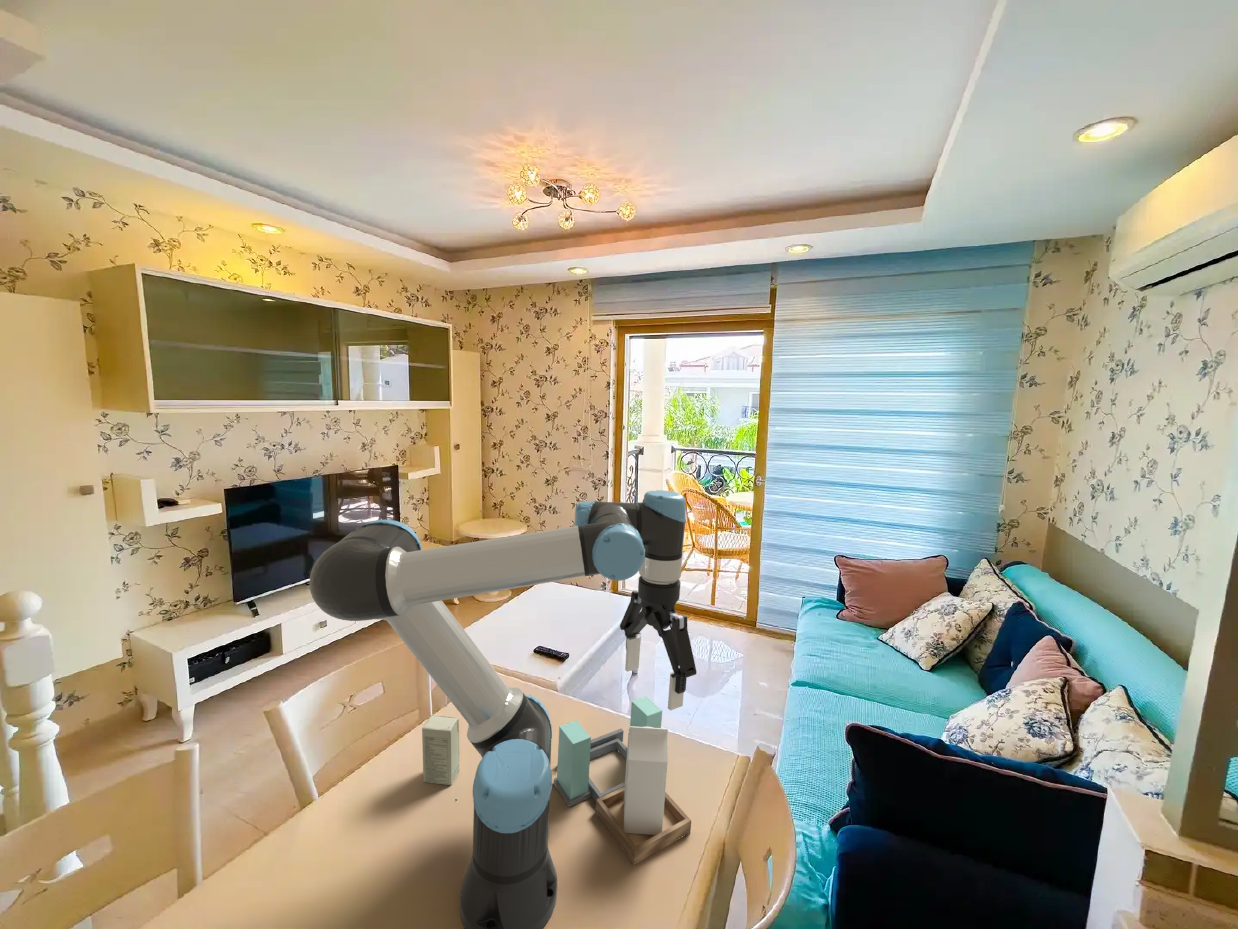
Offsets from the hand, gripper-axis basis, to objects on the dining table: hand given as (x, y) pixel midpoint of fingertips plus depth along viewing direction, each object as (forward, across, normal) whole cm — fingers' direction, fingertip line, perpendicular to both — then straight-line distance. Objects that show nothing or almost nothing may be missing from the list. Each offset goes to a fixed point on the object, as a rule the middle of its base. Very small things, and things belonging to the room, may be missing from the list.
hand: (652, 687), depth 93 cm
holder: (+27, +13, 0) cm, 30 cm away
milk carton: (+27, 0, +1) cm, 27 cm away
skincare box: (+27, +29, +31) cm, 51 cm away
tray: (+27, 0, 0) cm, 27 cm away
